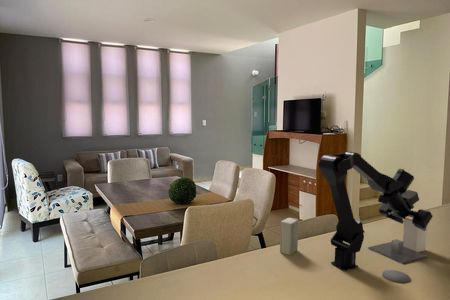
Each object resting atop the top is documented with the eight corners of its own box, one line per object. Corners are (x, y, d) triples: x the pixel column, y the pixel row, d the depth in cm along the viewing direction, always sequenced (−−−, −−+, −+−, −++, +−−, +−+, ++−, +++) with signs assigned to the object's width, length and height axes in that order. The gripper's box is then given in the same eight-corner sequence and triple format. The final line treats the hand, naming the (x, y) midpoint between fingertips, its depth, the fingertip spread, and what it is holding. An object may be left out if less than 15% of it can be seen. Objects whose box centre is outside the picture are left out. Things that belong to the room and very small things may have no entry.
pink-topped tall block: (415, 252, 131) (417, 221, 129) (402, 247, 136) (404, 217, 134) (425, 250, 133) (427, 219, 132) (412, 245, 138) (414, 215, 137)
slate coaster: (398, 285, 106) (398, 283, 106) (376, 274, 113) (376, 272, 113) (415, 279, 109) (415, 278, 109) (393, 269, 117) (393, 268, 117)
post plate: (403, 264, 121) (403, 251, 120) (368, 248, 134) (368, 237, 134) (427, 257, 126) (428, 245, 126) (391, 243, 140) (392, 232, 139)
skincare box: (287, 247, 135) (288, 216, 133) (298, 250, 132) (299, 219, 130) (279, 252, 130) (280, 220, 128) (289, 255, 127) (290, 223, 126)
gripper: (431, 189, 120) (448, 216, 126) (385, 179, 137) (402, 204, 143) (414, 214, 118) (433, 241, 124) (369, 201, 135) (388, 225, 141)
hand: (413, 226), depth 133 cm, fingers open, 9 cm apart
